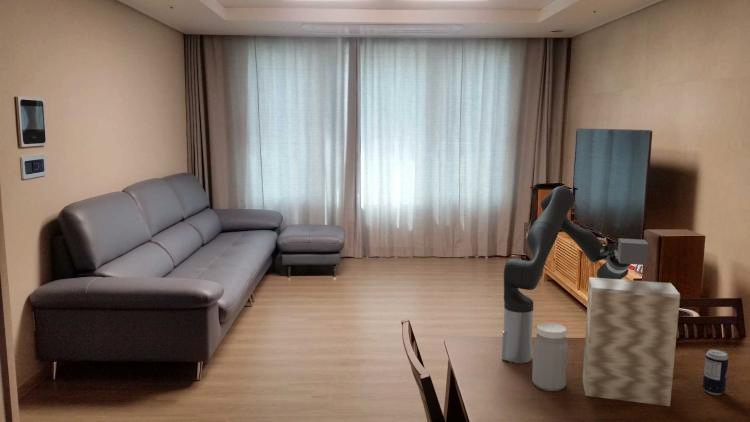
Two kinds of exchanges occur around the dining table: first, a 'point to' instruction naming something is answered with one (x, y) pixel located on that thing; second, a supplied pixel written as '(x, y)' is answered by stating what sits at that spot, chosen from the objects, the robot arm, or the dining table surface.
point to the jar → (550, 357)
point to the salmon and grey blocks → (632, 251)
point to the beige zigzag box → (630, 340)
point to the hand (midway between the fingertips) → (627, 244)
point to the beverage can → (715, 371)
